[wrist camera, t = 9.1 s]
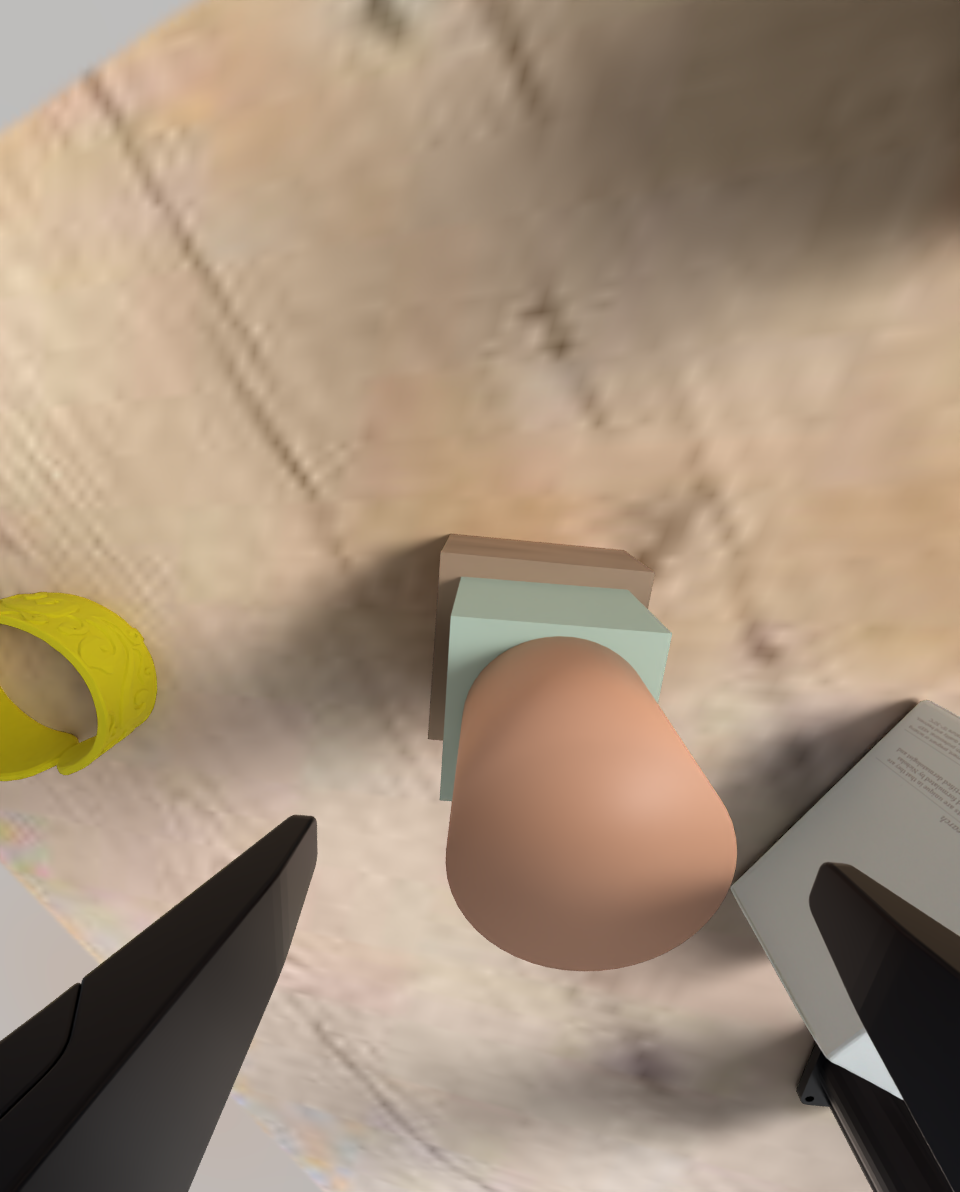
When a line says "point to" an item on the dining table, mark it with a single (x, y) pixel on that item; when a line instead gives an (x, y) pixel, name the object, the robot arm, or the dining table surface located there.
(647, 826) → the brown oval piece
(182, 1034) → the robot arm
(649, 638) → the top block
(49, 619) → the bracelet
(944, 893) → the supplement box
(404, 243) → the dining table surface
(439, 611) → the bottom block
